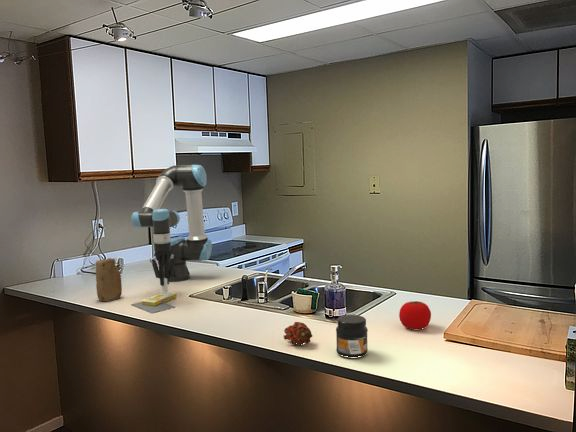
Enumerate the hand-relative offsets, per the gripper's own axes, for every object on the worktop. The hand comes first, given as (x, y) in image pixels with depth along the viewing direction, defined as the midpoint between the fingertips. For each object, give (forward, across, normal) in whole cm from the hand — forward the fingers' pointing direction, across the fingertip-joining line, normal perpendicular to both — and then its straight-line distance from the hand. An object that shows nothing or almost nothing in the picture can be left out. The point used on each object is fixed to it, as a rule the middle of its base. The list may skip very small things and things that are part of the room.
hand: (165, 291), depth 231 cm
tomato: (+6, +47, -105) cm, 115 cm away
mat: (+5, -6, 0) cm, 8 cm away
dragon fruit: (+6, +5, -83) cm, 83 cm away
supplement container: (+6, +11, -103) cm, 104 cm away
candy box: (+4, +1, +1) cm, 4 cm away
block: (+6, -15, +27) cm, 31 cm away
